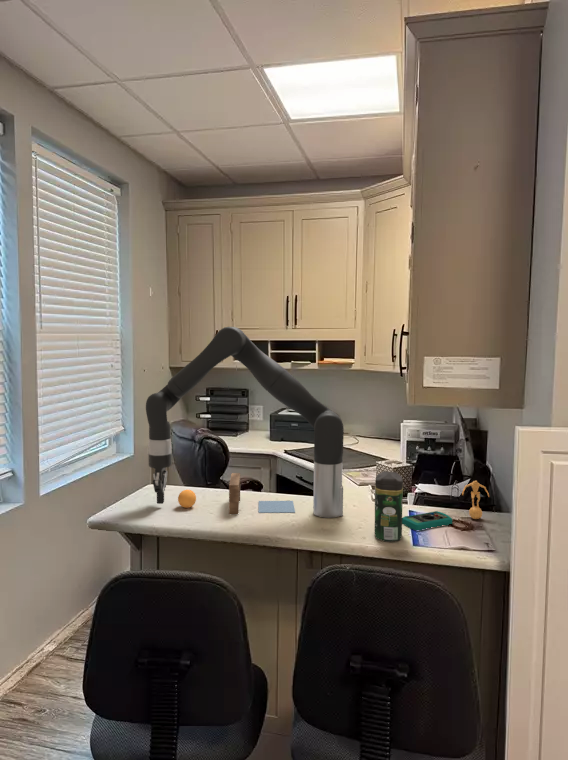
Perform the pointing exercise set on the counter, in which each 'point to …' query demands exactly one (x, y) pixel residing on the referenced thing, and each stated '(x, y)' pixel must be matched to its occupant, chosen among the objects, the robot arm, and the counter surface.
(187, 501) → the ball
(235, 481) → the bridge
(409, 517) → the digital multimeter
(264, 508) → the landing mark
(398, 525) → the coffee jar
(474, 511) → the figurine
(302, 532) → the counter surface
